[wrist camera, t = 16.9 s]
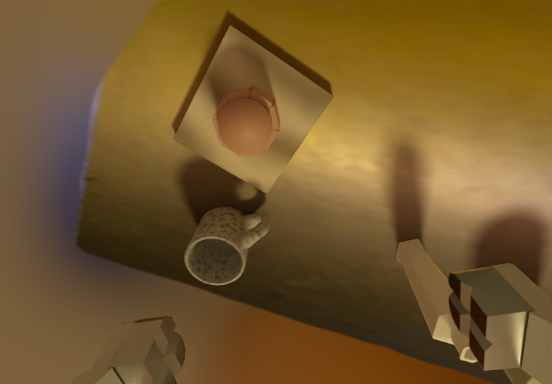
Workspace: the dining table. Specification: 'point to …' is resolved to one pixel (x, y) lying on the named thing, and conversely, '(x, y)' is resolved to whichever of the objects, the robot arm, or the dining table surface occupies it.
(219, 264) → the mug
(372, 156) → the dining table surface
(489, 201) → the dining table surface
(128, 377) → the robot arm
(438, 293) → the perfume bottle
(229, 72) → the board
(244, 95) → the cap
